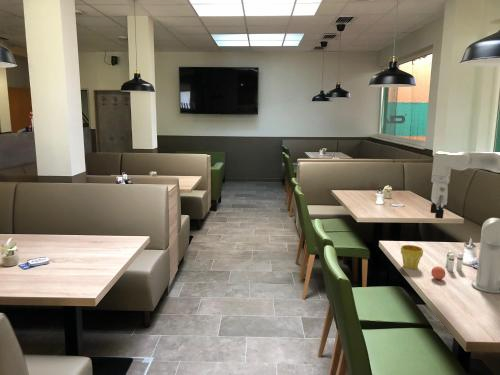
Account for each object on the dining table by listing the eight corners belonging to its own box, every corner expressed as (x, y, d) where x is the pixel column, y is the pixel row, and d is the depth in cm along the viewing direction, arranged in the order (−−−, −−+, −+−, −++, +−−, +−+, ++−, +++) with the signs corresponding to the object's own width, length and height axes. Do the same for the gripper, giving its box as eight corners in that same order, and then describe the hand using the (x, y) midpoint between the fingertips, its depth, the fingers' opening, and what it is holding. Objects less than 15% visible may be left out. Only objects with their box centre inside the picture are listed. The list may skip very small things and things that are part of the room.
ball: (446, 279, 190) (448, 267, 189) (441, 282, 186) (442, 270, 185) (433, 275, 194) (435, 263, 193) (428, 278, 190) (429, 266, 189)
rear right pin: (462, 270, 201) (464, 253, 200) (460, 271, 199) (462, 254, 198) (457, 268, 203) (458, 252, 201) (455, 270, 201) (457, 253, 200)
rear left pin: (452, 267, 205) (453, 251, 203) (450, 268, 203) (451, 252, 201) (446, 266, 206) (448, 250, 205) (444, 267, 205) (446, 251, 203)
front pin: (453, 270, 200) (455, 254, 198) (451, 272, 198) (453, 255, 197) (448, 269, 202) (450, 253, 200) (446, 270, 200) (448, 254, 198)
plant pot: (423, 271, 199) (425, 252, 198) (401, 269, 201) (402, 250, 200) (419, 263, 209) (420, 245, 208) (398, 262, 211) (399, 244, 210)
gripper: (454, 182, 175) (450, 220, 179) (444, 176, 192) (440, 211, 195) (436, 181, 177) (431, 219, 180) (427, 175, 194) (424, 210, 197)
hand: (436, 215), depth 188 cm, fingers open, 9 cm apart
